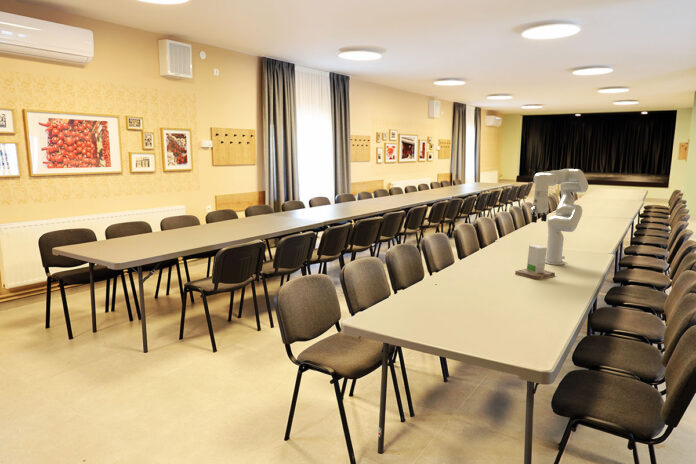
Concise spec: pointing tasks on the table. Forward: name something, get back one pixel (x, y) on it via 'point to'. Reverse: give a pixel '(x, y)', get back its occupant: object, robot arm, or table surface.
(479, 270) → the table surface
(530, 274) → the walnut board
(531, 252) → the skincare box
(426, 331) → the table surface
